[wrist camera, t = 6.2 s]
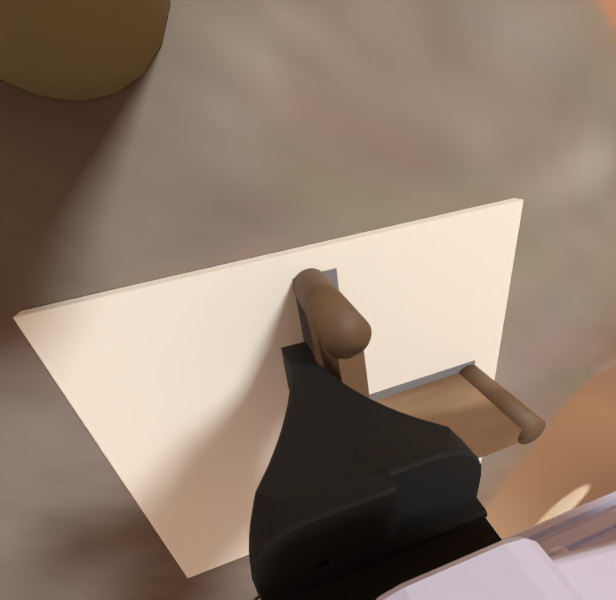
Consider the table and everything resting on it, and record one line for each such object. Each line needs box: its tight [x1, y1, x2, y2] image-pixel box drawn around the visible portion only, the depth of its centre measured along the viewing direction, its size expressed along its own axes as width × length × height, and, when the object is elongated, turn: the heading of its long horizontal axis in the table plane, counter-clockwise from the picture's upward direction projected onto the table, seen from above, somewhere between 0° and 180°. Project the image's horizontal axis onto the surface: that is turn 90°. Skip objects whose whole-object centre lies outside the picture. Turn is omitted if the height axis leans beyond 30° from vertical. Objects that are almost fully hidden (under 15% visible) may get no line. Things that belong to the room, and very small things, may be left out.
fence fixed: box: [375, 365, 545, 458], centre depth 15 cm, size 2×9×4 cm, turn 99°
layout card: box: [13, 198, 523, 578], centre depth 16 cm, size 18×20×1 cm
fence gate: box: [293, 268, 372, 398], centre depth 12 cm, size 1×7×4 cm, turn 11°
